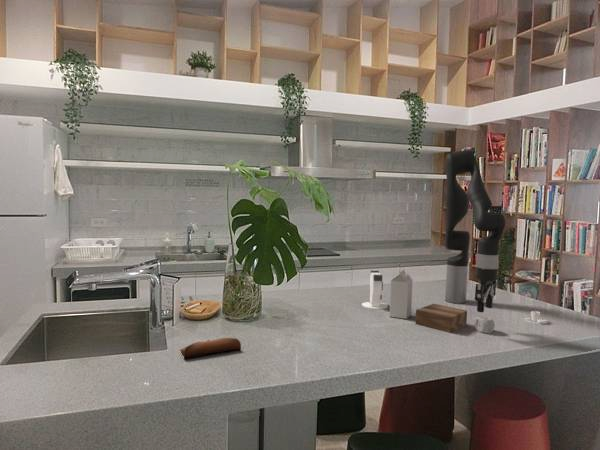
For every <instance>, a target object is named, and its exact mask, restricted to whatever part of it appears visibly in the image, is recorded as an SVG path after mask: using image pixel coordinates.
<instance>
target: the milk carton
mask: <svg viewBox="0 0 600 450" xmlns="http://www.w3.org/2000/svg"><path fill="white" fill-rule="evenodd" d="M412 296H413V278H411V275H410V274H409V273H408V272H406V268H405V269H404V268H403V269H401V270H400V271H399V274H397V276H395V277H394V278H392V279H391V280H390V297H389V298H390V299H389V317H393V318H397V319H404V320H408V319H409V317H411V316H412V302H413V301H412V300H413V297H412Z"/></svg>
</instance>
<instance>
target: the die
mask: <svg viewBox="0 0 600 450" xmlns="http://www.w3.org/2000/svg"><path fill="white" fill-rule="evenodd" d="M474 327H475V329H476V331H477V332H479V333H481V334H491V333H493V331H494V330H495V327H496V326H495V321H494V320H493V318H492V317H490V316H486V315H485V316H484V315H481V316H478V317H476V318H475V320H474Z"/></svg>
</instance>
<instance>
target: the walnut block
mask: <svg viewBox="0 0 600 450" xmlns="http://www.w3.org/2000/svg"><path fill="white" fill-rule="evenodd" d="M467 318H468V310H466V309H461V308H456V307H451V306H447V305H441V304H437V303H432V304H429V305H426V306H422V307H420V308H417V309H416V310H415V325H417V326H421V327H424V328H425V327H426V328H430V329H433V330H437V331H441V332H445V333H449V334H450V333H453V332H455V331H457V330H460V329H461V328H463V327H465V326H467V322H468V320H467Z"/></svg>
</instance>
